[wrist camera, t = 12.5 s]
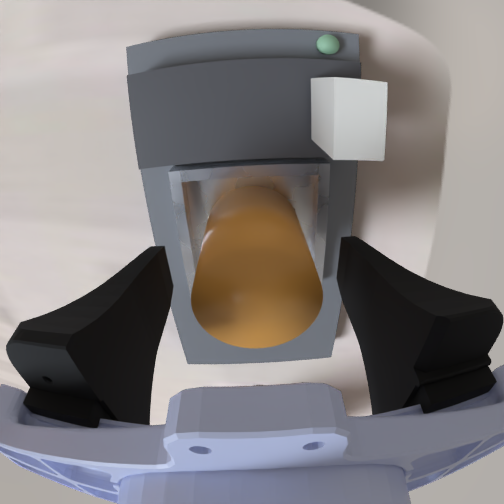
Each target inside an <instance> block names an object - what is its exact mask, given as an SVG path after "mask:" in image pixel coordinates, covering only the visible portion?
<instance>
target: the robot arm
mask: <svg viewBox="0 0 504 504" xmlns="http://www.w3.org/2000/svg"><path fill="white" fill-rule="evenodd" d="M336 279H337V283H338V287H339V291H340V295H341V298H342V301H343V303H344V306H345V308H346V311H347V314H348V316H349V318H350V321H351V323H352V326H353V329H354V331H355V334H356V336H357V339H358V342H359V345H360V349H361V353H362V357H363V361H364V365H365V370H366V375H367V380H368V386H369V392H370V399H371V405H372V414H373V415H370V416H365V417H351V416H347V415H346V410H345V406H344V402H343V398H342V393H341V391H339V390H337V389H335V388H333V387H331V386H329V385H327V384H324V383H294V384H280V385H264V386H236V387H199V388H191V389H185V390H182V391H181V392H179V393H178V394H176V395H175V396H173V397H171V398H170V402H169V407H168V413H167V419H166V424H164V425H153V426H152V425H150V404H151V391H152V382H153V374H154V367H155V360H156V355H157V350H158V346H159V343H160V340H161V336H162V333H163V330H164V326H165V323H166V320H167V316H168V313H169V310H170V306H171V300H172V294H173V287H174V285H173V281H172V277H171V272H170V268H169V264H168V259H167V255H166V250H165V246H152V247H149V248H148V249H146V250H145V251H144V252H143V253H141V254H140V255H139V256H138V257H136V258H135V259H134V260H133V261H131V262H130V263H129V264H128V265H127V266H125V267H124V268H123V269H122V270H120V271H119V272H118V273H116V274H115V275H114V276H113V277H111V278H110V279H109V280H107V281H106V282H105V283H103V284H102V285H100V286H99V287H97V288H96V289H94V290H93V291H91V292H89V293H88V294H86V295H85V296H83V297H81V298H79V299H77V300H75V301H73V302H71V303H70V304H68V305H66V306H64V307H61V308H59V309H57V310H55V311H52V312H50V313H47V314H45V315H42V316H39V317H36V318H33V319H30V320H27V321H23V322H21V323H20V324H19V326H18V327H17V329H16V330H15V332H14V334H13V335H12V337H11V338H10V340H9V342H8V343H7V345H6V351H7V354H8V357H9V359H10V361H11V363H12V364H13V366H14V367H15V368H16V370H17V371H18V372H19V374H20V375H21V376H22V378H23V379H24V380H25V381H26V383H27V384H28V385H29V386H30V389H29V391H28V393H26V392H24V391H23V390H21V389H18V388H15V387H11V386H8V385H5V384H1V386H0V452H1V453H2V454H3V455H5V456H6V457H7V458H9V459H10V460H11V461H13V462H14V463H15V464H17V465H18V466H20V467H22V468H24V469H27V470H29V471H31V472H33V473H36V474H38V475H40V476H43V477H45V478H47V479H50V480H52V481H55V482H57V483H59V484H62V485H64V486H67V487H70V488H72V489H75V490H78V491H80V492H83V493H86V494H89V495H92V496H95V497H98V498H101V499H104V500H108V501H111V502H114V503H117V504H411V501H410V497H409V493H408V492H409V491H412V490H414V489H417V488H419V487H422V486H424V485H427V484H429V483H432V482H434V481H436V480H439V479H441V478H443V477H445V476H447V475H449V474H452V473H454V472H456V471H458V470H460V469H462V468H464V467H466V466H468V465H470V464H471V463H474V462H476V461H477V460H479V459H481V458H483V457H485V456H487V455H488V454H490V453H492V452H494V451H495V450H497V449H499V448H501V447H503V446H504V365H502V366H500V367H498V368H496V369H495V370H494V371H493V372H491V370H490V368H489V367H488V365H490V364H491V359H490V357H489V356H488V353H489V351H490V349H491V348H492V346H493V344H494V343H495V341H496V339H497V337H498V336H499V334H500V331H501V329H502V325H503V315H502V314H501V312H500V310H499V309H498V308H497V307H496V305H495V304H494V303H493V301H492V300H491V299H487V298H482V297H478V296H473V295H469V294H465V293H462V292H458V291H455V290H452V289H449V288H446V287H444V286H441V285H438V284H436V283H433V282H431V281H429V280H427V279H425V278H423V277H421V276H419V275H417V274H415V273H413V272H411V271H409V270H407V269H405V268H404V267H402V266H400V265H399V264H397V263H395V262H394V261H392V260H391V259H389V258H388V257H386V256H385V255H383V254H382V253H380V252H379V251H377V250H376V249H374V248H373V247H371V246H370V245H368V244H367V243H365V242H364V241H362V240H361V239H359V238H357V237H355V236H351V237H341V242H340V251H339V260H338V269H337V277H336Z"/></svg>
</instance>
